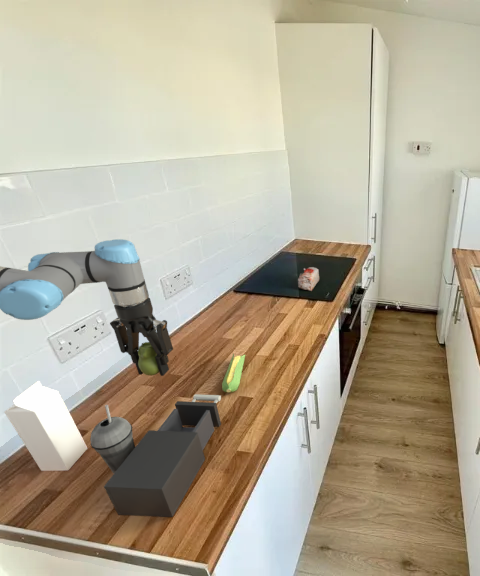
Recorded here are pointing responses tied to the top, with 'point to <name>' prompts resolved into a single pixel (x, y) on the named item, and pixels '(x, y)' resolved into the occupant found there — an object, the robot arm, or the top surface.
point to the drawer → (195, 417)
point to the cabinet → (156, 474)
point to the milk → (46, 428)
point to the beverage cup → (113, 440)
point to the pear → (147, 359)
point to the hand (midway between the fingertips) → (154, 371)
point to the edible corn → (233, 374)
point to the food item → (308, 279)
